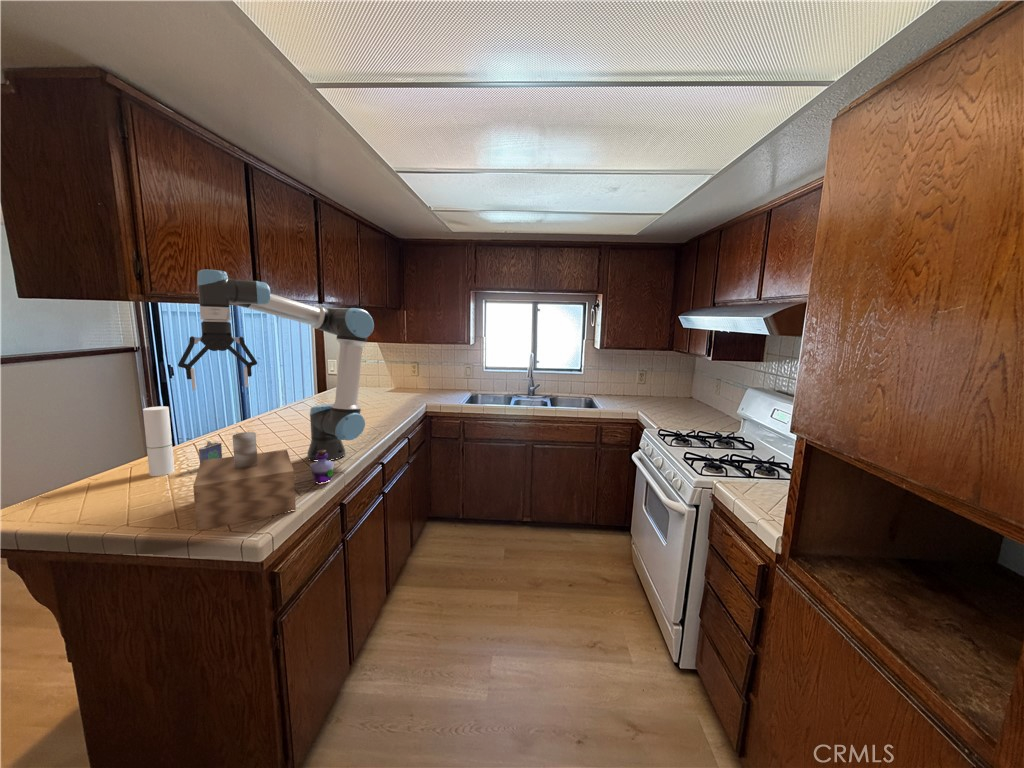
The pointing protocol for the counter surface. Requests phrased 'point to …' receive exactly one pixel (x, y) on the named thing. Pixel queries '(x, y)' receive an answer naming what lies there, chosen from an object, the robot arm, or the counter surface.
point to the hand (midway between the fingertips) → (221, 388)
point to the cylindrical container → (158, 440)
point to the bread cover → (243, 485)
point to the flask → (210, 451)
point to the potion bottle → (322, 467)
